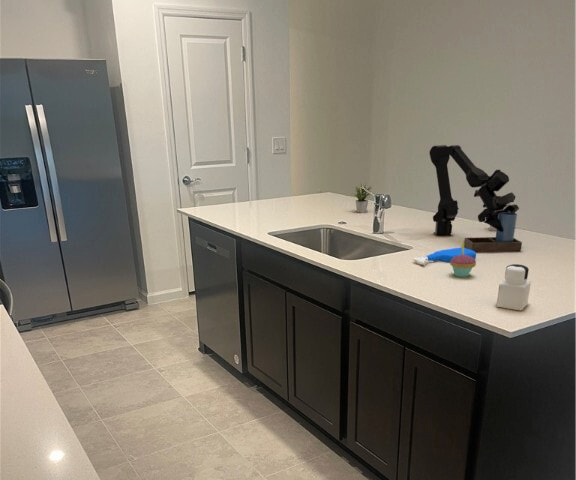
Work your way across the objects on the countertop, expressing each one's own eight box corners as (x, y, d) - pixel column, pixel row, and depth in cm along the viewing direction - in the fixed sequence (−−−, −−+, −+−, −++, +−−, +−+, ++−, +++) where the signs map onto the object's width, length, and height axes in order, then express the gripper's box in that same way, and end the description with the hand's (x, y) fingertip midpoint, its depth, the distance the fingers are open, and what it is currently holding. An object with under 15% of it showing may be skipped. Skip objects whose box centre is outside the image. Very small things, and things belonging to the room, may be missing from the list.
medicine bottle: (502, 300, 166) (508, 261, 161) (527, 304, 162) (533, 264, 157) (496, 306, 160) (501, 267, 156) (521, 311, 156) (527, 270, 152)
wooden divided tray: (471, 252, 219) (472, 243, 218) (463, 246, 229) (464, 237, 227) (520, 251, 219) (522, 242, 218) (510, 245, 229) (512, 236, 227)
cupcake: (445, 272, 194) (448, 238, 190) (468, 271, 195) (472, 237, 190) (454, 279, 186) (458, 244, 182) (478, 278, 187) (482, 243, 182)
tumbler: (494, 246, 222) (498, 214, 217) (494, 243, 227) (499, 211, 222) (512, 248, 219) (517, 215, 214) (512, 244, 225) (517, 212, 220)
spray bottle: (460, 246, 217) (408, 254, 208) (479, 252, 207) (425, 260, 199) (459, 253, 218) (407, 261, 210) (478, 259, 209) (425, 268, 200)
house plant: (376, 214, 301) (378, 183, 295) (351, 214, 301) (352, 184, 295) (373, 209, 314) (374, 180, 308) (349, 210, 314) (350, 181, 308)
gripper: (487, 188, 213) (506, 220, 209) (518, 184, 222) (538, 215, 217) (469, 205, 222) (487, 237, 218) (500, 201, 231) (518, 231, 227)
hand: (508, 230), depth 220 cm, fingers closed on tumbler, 7 cm apart
